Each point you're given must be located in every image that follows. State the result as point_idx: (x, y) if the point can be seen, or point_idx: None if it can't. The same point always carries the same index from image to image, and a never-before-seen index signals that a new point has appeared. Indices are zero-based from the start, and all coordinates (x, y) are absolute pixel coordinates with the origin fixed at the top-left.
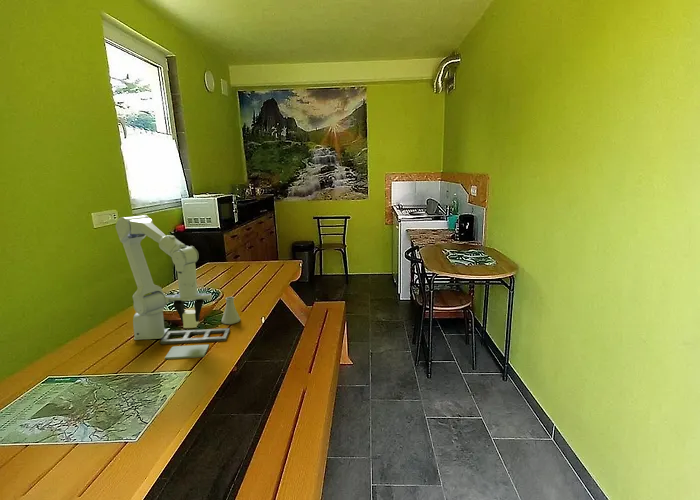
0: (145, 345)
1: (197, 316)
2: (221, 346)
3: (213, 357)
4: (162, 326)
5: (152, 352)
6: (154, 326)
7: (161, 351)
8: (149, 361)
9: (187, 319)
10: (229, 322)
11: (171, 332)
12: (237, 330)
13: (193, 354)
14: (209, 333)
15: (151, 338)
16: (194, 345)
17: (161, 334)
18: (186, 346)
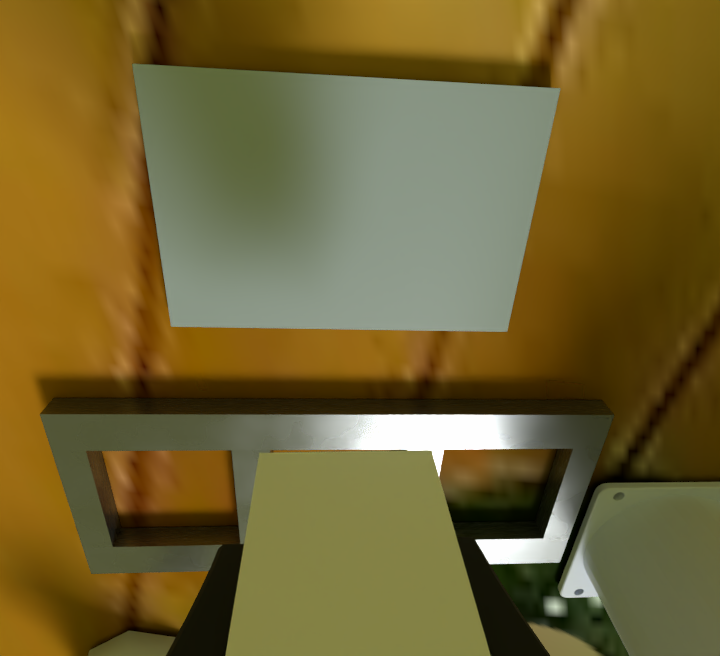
0: (711, 396)
1: (190, 632)
2: (46, 295)
3: (17, 28)
4: (625, 593)
5: (664, 266)
6: (704, 580)
7: (590, 273)
8: (698, 66)
9: (383, 568)
10: (137, 647)
11: (537, 543)
12: (37, 553)
13: (263, 109)
14: (240, 515)
15: (670, 484)
16: (309, 322)
17: (604, 526)
18: (380, 313)
